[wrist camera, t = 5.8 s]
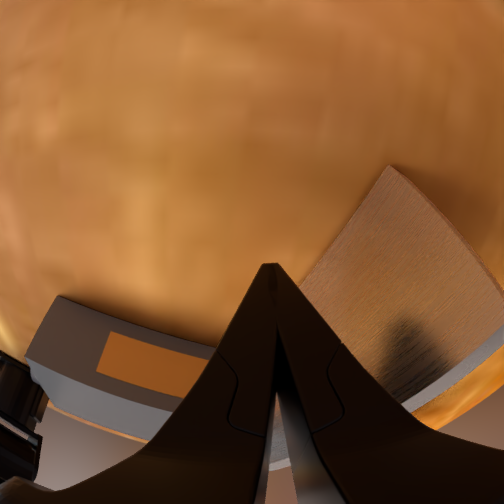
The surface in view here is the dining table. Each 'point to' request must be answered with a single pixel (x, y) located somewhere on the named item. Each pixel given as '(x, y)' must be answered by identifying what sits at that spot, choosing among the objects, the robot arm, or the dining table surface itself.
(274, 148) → the dining table surface
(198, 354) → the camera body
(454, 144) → the dining table surface
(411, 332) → the side door
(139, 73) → the dining table surface
